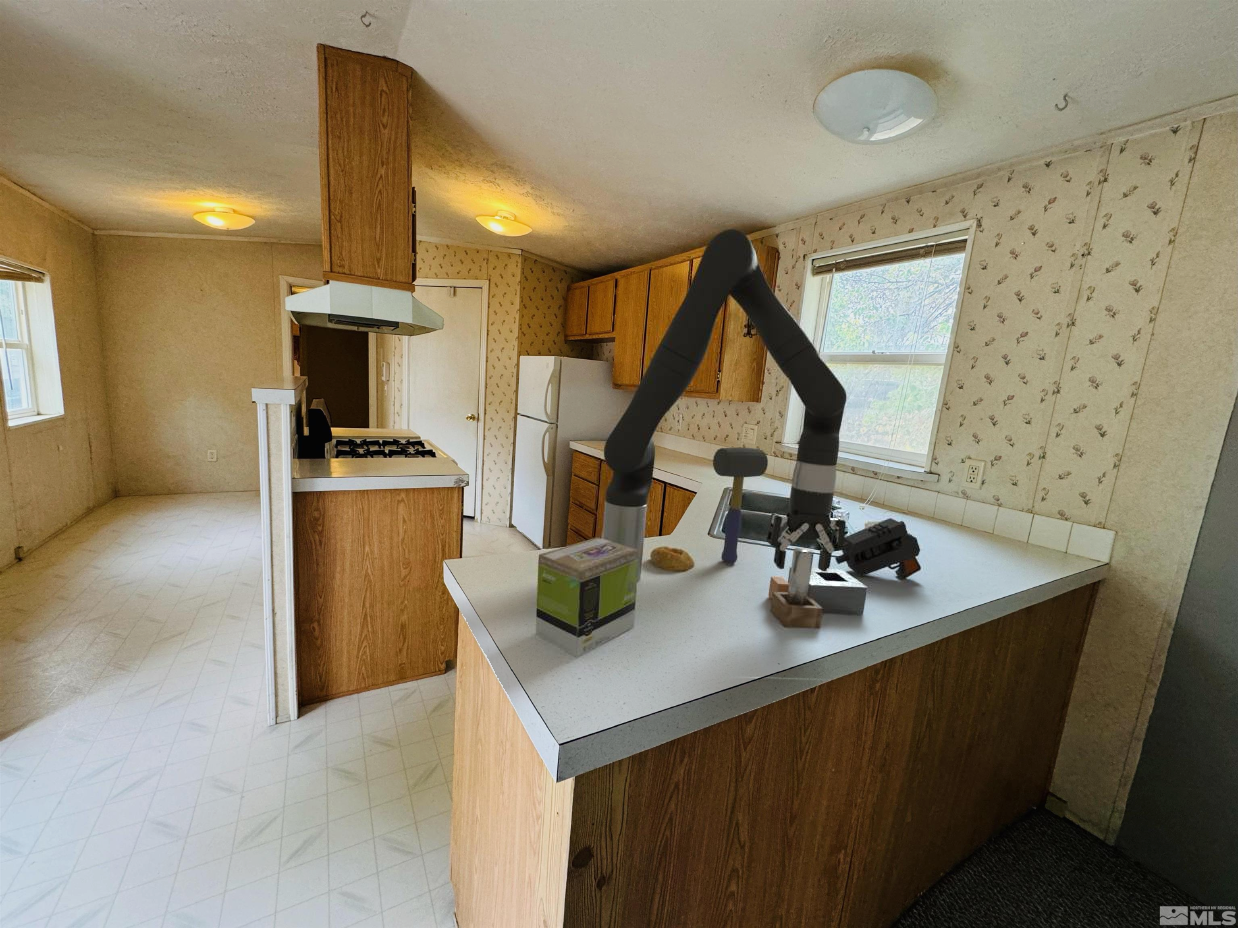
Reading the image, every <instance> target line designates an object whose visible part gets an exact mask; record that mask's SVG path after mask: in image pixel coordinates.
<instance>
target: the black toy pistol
mask: <svg viewBox="0 0 1238 928" xmlns="http://www.w3.org/2000/svg"><path fill="white" fill-rule="evenodd" d="M841 551H842V554H840V555H838V556H835V557H834V559H835V562H836V563H837V564H838V565H840V564H843V563H846V564H847V567H848V568H849V569H850V570H851V571H853V572H854V573H855V574H857V575H858V576H861V577H863V576H867V575H869V574H871V573H874V572H877V571H880V570H883V569H885V568H888V569H890V570H895V571H894V572H895V575H896V576H897V577H899V578H900V579H901V580H905V579H907V578H908V577H911V576H912V575H913V574H915V573H917V572H919V571H921V568H922V567H921V565H920V563H919V561H918V559H917V557H919V555H920V553H921V547H920V545H919V542H918V538H917V537H915V536H913V535H912V534H911V533H908V530H907V526H906V523H905V522H904V521H903V520H900V521H898V520H896V519H893V518H890V517H889V518H888V519H887V518H886V519H884V520H882V522H879V523H878V524H874V525H873V527H872V526H870V527H868V529H867V528H865V527H864V528H863V529H861V530H859V531H856V532H854V533H852V534H849V535H847V536H844V547H843V549H842V550H841Z"/></svg>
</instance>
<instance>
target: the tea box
mask: <svg viewBox="0 0 1238 928" xmlns="http://www.w3.org/2000/svg"><path fill="white" fill-rule="evenodd" d="M638 552H639V550H637V549H634V548H630V547H627V546H624V545H620V544H617V543H614V542H611V541H608V540H604V539H601V538H600V536H598V537H594V538H593V537H592V538H590V539H587V540H583V541H579V542H577V543H573V544H570V545H566V546H563V547H560V548H557V549H553V550H549V551H547V552H544V553H543V552H542V553H539V554H538V562H537V565H538V566H537V585H536V586H537V587H536V589H537V591H536V592H537V593H536V613H535V615H536V616H535V636H537V637H539V638H541V639H543V640H544V641H547V642H548V643H550V644H551V645H553V646H555V647H557V648H558V649H560V650H563V651H564V652H565V653H567V654H570V655H571V656H573V657H574V658H579V657H580V656H582V655H584V654H586V653H588V652H589V651H591V650H593V649H595V648H597V647H599V646H601V645H603V644H605V643H606V642H608V641H610V640H612V639H613V638H615V637H618V636H620V635H621V634H624V633H625V632H627V631H629V630H630V629H632V628H634V627H635V617H636V599H637V584H638V582H637V571H638Z"/></svg>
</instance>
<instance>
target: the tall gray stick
mask: <svg viewBox="0 0 1238 928" xmlns="http://www.w3.org/2000/svg"><path fill="white" fill-rule="evenodd" d="M814 553H815V551H813V550H812V549H809V548H805V547H794V548H793V552H792V560H791V561H792V562H791V566H790V567H791V574H790V581H789V588H788V595H787V602H788V603H789V604H790V605H804V606H806V603H807V596H808V589H809V582H810V575H811V568H813V562H814V561H813V560H814Z"/></svg>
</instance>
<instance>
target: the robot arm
mask: <svg viewBox="0 0 1238 928" xmlns="http://www.w3.org/2000/svg"><path fill="white" fill-rule="evenodd" d="M757 256H758V255H757V253H756V249H755V248H754V246H753V243H752V242H751V240H750V239H749V237H748V236H747V235H746V234H745V233H744V232H743V231H741V230H739V229H736V228H735V229H734V228H730V229H725V230H722V231H721V232H719V233H717V234H716V235H715V236H714V237H713V238H711V240H710V241H709V242H708V244H707V245H706V247H705V249H704V250H703V254H702V255H701V258H700V261H699V262H698V266H697V268H696V271H695V274H694V275H693V278H692V281H691V283H690V286H689V288H688V290H687V293H686V295H685V297H683V301H682V303H681V304H680V306H679V307H678V309H677V310H676V313H675V314H674V315H673V316H674V317H673V318H672V321H670V324H669V326H668V327H667V330H666V332H665V334H664V335H663V337H662V338H661V340H660V342H659V344H658V345H657V348H656V350H655V352H654V354H653V355H652V358H651V359H650V362H649V364H648V366H647V369H646V370H645V372H644V374H643V376H642V378H641V380H640V383H639V384H638V386H637V389H636V390H635V393H634V395H633V397H632V399H631V400H630V403H629V405H628V407H627V408H626V410H625V412H623V414H622V416H621V417H620V419H619V421H618V422H617V424H615V426H614V428H613V429H612V431H611V433H610V434H609V435H608V437H607V439H606V441H605V443H604V448H603V457H604V461H605V464H606V466H607V467H609V469H610V470H612V477H611V479H610V482H609V484H608V486H607V487H606V489H605V498H604V513H603V522H602V523H603V524H602V525H603V526H602V530H601V539H604V540H608V541H611V542H614V543H617V544H620V545H624V546H627V547H630V548H634V549H637V550H639V552H638V571H637V583H638V582H640V580H641V576H642V568H643V567H642V566H643V565H642V563H643V557H644V556H643V555H644V554H643V553H644V552H643V551H644V546H645V545H644V543H645V542H644V541H645V533H646V532H645V531H646V521H647V520H646V519H647V509H648V500H649V499H648V498H649V494H650V492H651V489H652V484H653V478H654V477H653V476H654V468H655V459H656V447H655V442H654V439H653V437H654V434H655V432H656V430H657V427H658V426H659V424H660V422H661V421H662V420H663V418H664V417H665V415H666V414H667V413H668V412H669V410H671V408H672V407H673V406H674V405H675V403H676V402H677V401H678V400H679V399H680V398H681V396H682V395H683V394H684V393H685V391H686V390H687V389H688V387H689V386H690V385H691V383H692V382H693V379H694V377H695V375H696V373H697V372H698V371H699V368H700V367H701V365H702V363H703V360H704V358H705V356H706V353H707V351H708V349H709V344H710V342H711V338H712V335H713V331H714V327H715V324H716V321H717V318H718V315H719V313H720V311H721V309H722V308H723V305H724V304H725V302H726V301H727V299H728V297H729V296H730V297H732V299H733V301H735V302H736V303H737V304H738V305H739V307H740V308H741V309H742V310H743V312H744V313H745V314H746V316H747V317H748V318H749V320H750V322H751V323H752V325H753V327H754V329H755V331H756V333H757V334H758V336H759V338H760V340H761V341H762V343H763V345H764V347H765V349H766V350H767V352H768V353H769V354H770V356H771V357H772V359H773V361H774V362H775V363H776V365H777V367H779V368H780V370H781V372H782V373H783V374H784V376H786V378H787V379H788V380H789V382H790V384H791V385H792V387H793V389H794V390H795V393H796V394H797V395H798V398H799V400H800V401H801V402H802V404H803V407H804V415H803V425H802V431H801V434H800V436H799V437H800V438H799V440H798V446H797V453H796V461H795V466H794V469H793V473H792V479H791V488H790V493H789V494H790V495H789V501H788V511H787V514H786V515H782V514H781V515H780V514H777V513H775V512H773V513H771V515H770V520H769V525H768V530H767V534H766V539H765V540H766V542H767V544H769V545H770V547H773V548H774V555H773V562H774V563H773V564H775V566H776V567H777V568H778V569H779V570H784V568H785V564H786V563H785V562H786V556H787V550H786V549H787V548H788V547H789V546H790V545H791V544H794V543H795V542H796V541H797V540H798V539H799V540H801V541H802V540H803V541H804V540H810V541H818V543H819V545H820V547H821V548H822V549H820V550H819V557H818V562H817V563H818V564H817V568H819V569H820V570H821V571H827V569H830V566H831V561H832V554H833V553H834V552H836V551H842V549H843V547H844V537H846V536H845V534H846V526H847V525H846V524H847V523H846V520H844V519H842V518H841V517H838V516H835V517H834V518H831V517H830V514H831V513H832V507H833V501H834V493H835V488H836V482H837V481H836V479H837V464H838V457H839V451H840V432H841V427H842V426H841V425H842V422H843V417H844V411H845V407H846V406H845V405H846V404H847V399H848V398H847V397H848V396H847V392H846V389H845V388H844V386H843V384H842V383H841V382H840V380H839V379H838V377H836V375H835V374H834V373H833V372H832V370H831V369H830V368H829V366H828V365H827V364H826V363H825V361H823V358H822V357H821V355H820V353H819V351H818V349H817V348H816V346H815V345H814V344H813V342H812V341H811V339H810V338H809V336H808V335H807V333H806V331H804V329H803V327H802V326H801V325H800V323H799V322H798V320H796V319H795V317H794V316H793V315H792V314H791V313H790V312H789V310H788V309H787V308H786V307H785V306H784V304H783V303H782V302H781V301H780V299H779V298H778V296H777V295H776V294H775V293H774V290H772V288H771V286H770V285H769V283H768V281H767V279H766V277H765V275H764V272H763V270H762V267H761V265H760V263H759V261H758V257H757ZM785 523H786V525H787V527H786V528H785V529H784V530H783V531H782V533H781V528H782V527H783V526H784V524H785ZM829 527H830V528H831V530H832V531H831V540H830V538H829V536H828V535H827V533H826V530H828V529H829ZM780 533H781V536H780Z"/></svg>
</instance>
